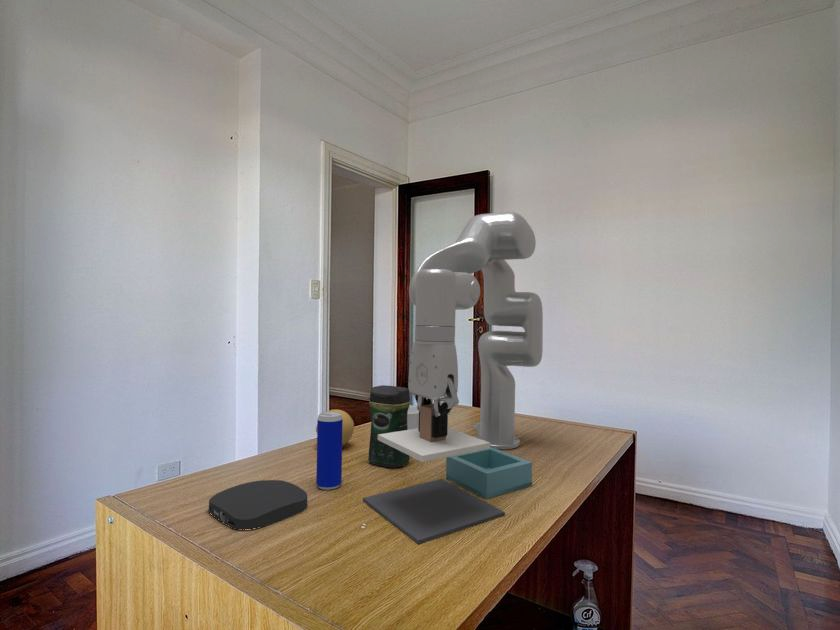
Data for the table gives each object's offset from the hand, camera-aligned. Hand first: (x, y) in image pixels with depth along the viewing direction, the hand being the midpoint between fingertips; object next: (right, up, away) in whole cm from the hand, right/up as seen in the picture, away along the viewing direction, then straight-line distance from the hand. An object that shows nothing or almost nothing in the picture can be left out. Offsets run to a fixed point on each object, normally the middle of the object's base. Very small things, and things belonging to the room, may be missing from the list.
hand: (432, 433), depth 84 cm
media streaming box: (-32, -14, -1) cm, 35 cm away
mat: (0, -14, 0) cm, 14 cm away
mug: (-6, -14, +50) cm, 52 cm away
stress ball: (-25, -14, +37) cm, 46 cm away
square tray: (+12, -14, +14) cm, 23 cm away
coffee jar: (-10, -14, +25) cm, 30 cm away
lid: (0, -2, 0) cm, 2 cm away
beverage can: (-21, -14, +10) cm, 27 cm away
